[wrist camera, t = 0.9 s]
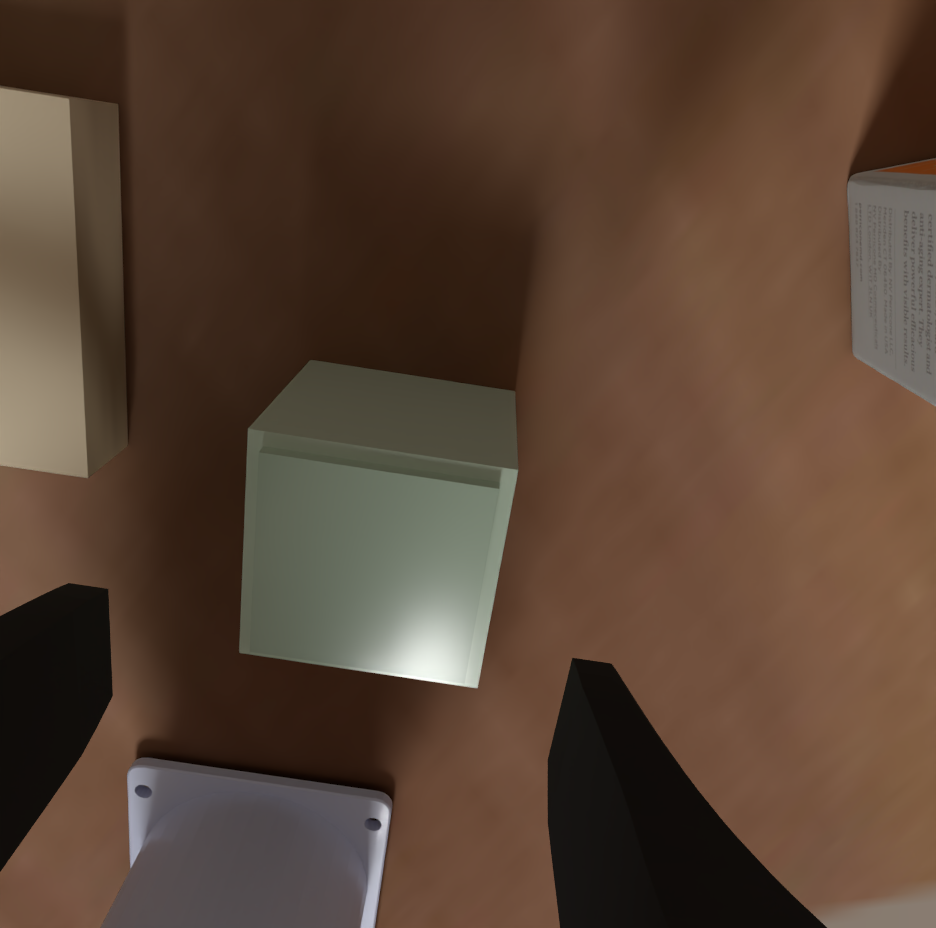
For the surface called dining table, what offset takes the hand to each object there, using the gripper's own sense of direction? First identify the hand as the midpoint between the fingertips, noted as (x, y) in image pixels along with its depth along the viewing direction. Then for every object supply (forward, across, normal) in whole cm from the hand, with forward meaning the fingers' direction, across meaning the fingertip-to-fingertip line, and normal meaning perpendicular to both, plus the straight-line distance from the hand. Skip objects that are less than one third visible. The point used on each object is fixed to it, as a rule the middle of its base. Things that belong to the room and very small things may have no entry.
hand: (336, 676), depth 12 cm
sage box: (+8, 0, 0) cm, 8 cm away
